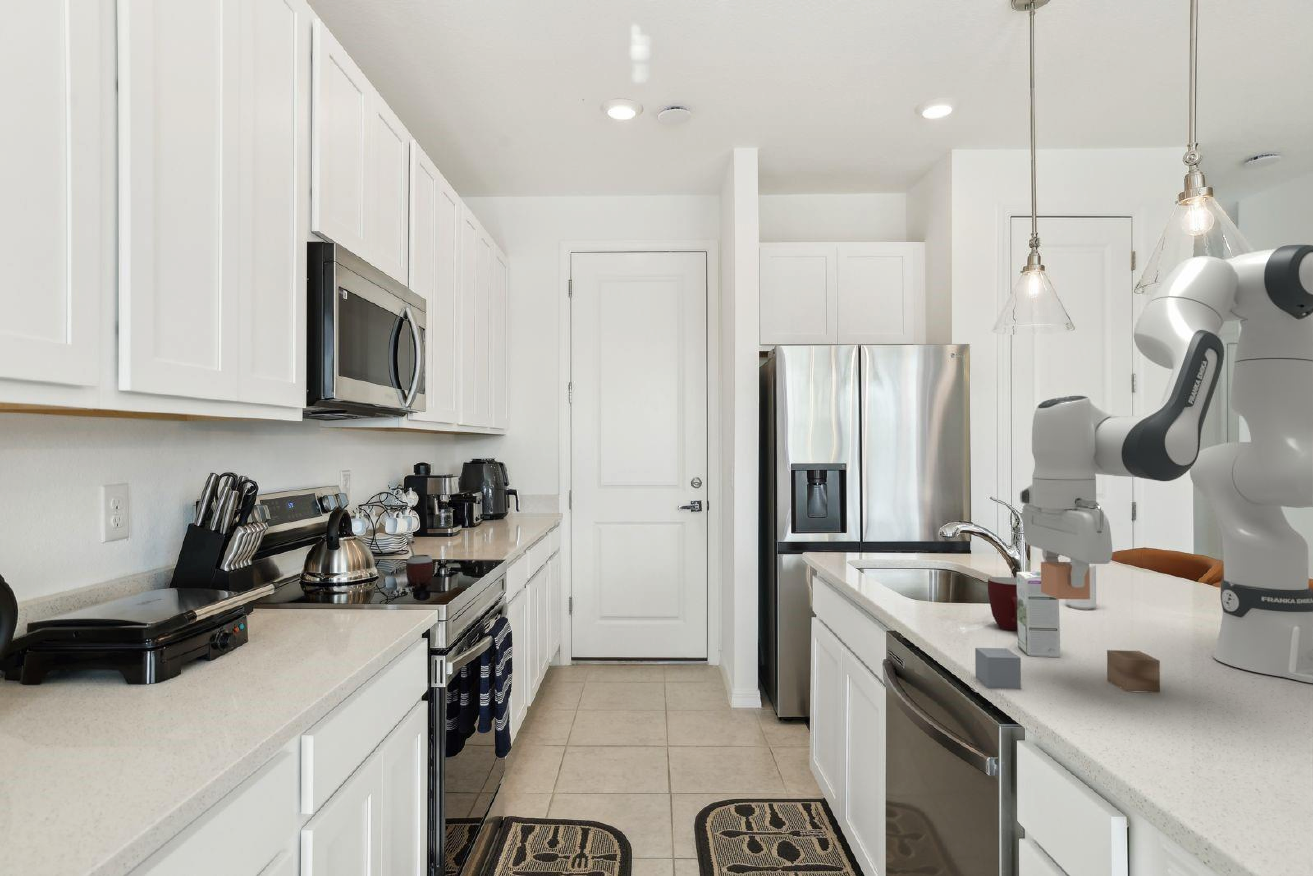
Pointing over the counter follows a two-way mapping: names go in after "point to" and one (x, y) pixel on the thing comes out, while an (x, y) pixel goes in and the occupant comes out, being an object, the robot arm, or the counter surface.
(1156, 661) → the walnut block
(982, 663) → the slate block
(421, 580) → the mate gourd
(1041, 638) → the syrup box
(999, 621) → the mug
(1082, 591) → the terracotta block
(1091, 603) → the white cylinder
